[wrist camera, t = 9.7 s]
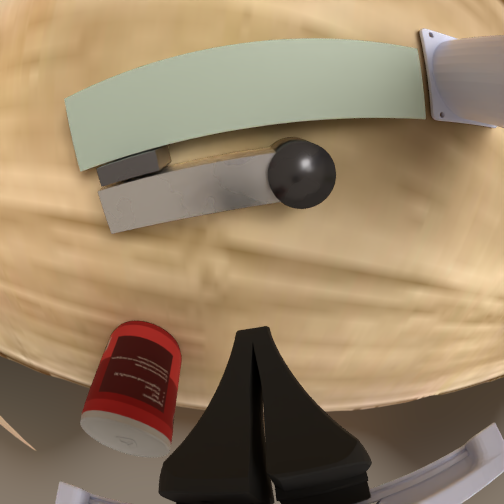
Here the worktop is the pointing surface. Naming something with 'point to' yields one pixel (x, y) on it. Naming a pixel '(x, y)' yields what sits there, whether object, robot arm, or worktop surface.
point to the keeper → (134, 165)
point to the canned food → (135, 391)
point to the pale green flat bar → (243, 93)
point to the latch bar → (222, 185)
